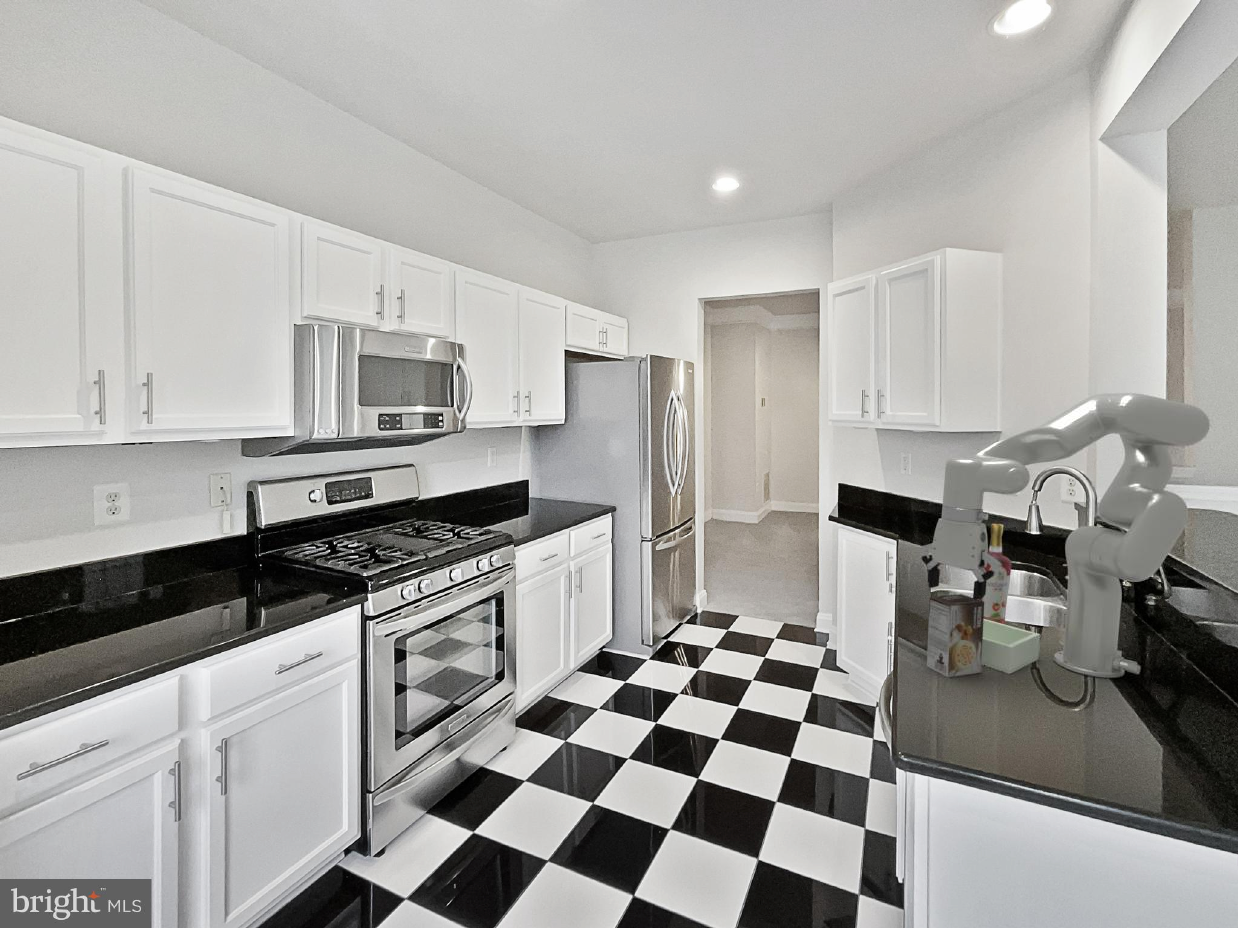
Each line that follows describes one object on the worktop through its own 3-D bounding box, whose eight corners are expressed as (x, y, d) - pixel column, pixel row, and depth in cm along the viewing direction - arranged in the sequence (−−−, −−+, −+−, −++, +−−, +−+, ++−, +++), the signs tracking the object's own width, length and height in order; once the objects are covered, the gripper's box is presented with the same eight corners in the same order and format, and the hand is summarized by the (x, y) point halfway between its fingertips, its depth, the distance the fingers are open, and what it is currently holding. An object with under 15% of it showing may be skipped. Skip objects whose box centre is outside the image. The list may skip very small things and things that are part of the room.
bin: (1038, 659, 143) (1040, 634, 142) (1009, 673, 135) (1011, 647, 135) (959, 635, 158) (960, 612, 157) (929, 647, 150) (930, 623, 149)
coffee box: (958, 661, 142) (962, 593, 140) (981, 673, 135) (986, 601, 134) (925, 666, 139) (928, 596, 137) (947, 678, 133) (951, 605, 131)
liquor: (1001, 627, 163) (1008, 522, 161) (1011, 637, 156) (1018, 528, 154) (970, 625, 165) (976, 521, 163) (979, 634, 158) (985, 526, 155)
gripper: (1013, 520, 129) (1006, 600, 131) (931, 507, 143) (926, 580, 145) (995, 523, 125) (988, 606, 126) (913, 510, 139) (908, 584, 141)
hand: (955, 592), depth 136 cm, fingers open, 9 cm apart
